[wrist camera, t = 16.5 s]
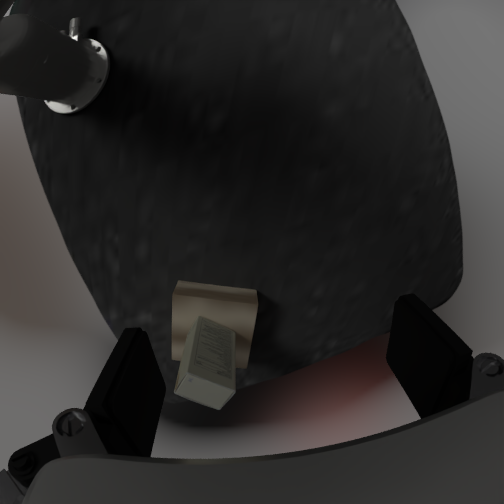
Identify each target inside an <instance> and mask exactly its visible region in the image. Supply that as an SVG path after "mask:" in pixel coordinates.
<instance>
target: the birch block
mask: <svg viewBox="0 0 504 504" xmlns="http://www.w3.org/2000/svg"><path fill="white" fill-rule="evenodd" d="M257 309H258V298H257V291H256V290H252V289H243V288H234V287H226V286H218V285H209V284H202V283H194V282H186V281H178V283H177V285H176V288H175V290H174V292H173V301H172V360H178V361H181V359H182V355H183V351H184V346H185V342H186V338H187V334H188V332H189V331H190V329H191V327H192V325H193V324H194V322H195V320H196V319H197V317H198V316H201V317H203V318H206V319H208V320H210V321H212V322H215V323H217V324H219V325H221V326H223V327H226V328H228V329H230V330H232V331H234V332H235V333H236V341H235V342H236V346H235V367H237V368H247V364H248V358H249V353H250V348H251V342H252V337H253V331H254V326H255V320H256V315H257Z"/></svg>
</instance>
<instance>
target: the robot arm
mask: <svg viewBox="0 0 504 504" xmlns="http://www.w3.org/2000/svg"><path fill="white" fill-rule="evenodd" d="M14 1H15V0H0V93H1V94H8V95H15V96H22V97H28V98H34V99H40V100H44V101H45V103H46V105H47V106H48V107H49V108H50V109H51V110H53V111H54V112H57V113H61V114H72V113H75V112H78V111H80V110H82V109H84V108H85V107H87V106H88V105H89V104H91V103H92V102H93V101H94V100H95V99H96V98H97V96H98V95H99V94H100V92H101V91H102V89H103V87H104V86H105V84H106V81H107V79H108V75H109V71H110V57H109V54H108V51H107V50H106V48H105V47H104V46H103V45H102V44H101V43H99V42H98V41H96V40H93V39H85V38H84V39H82V34H81V33H80V29H81V18H74V19H72V20H71V21H70V27H69V31H70V34H69V36H68V35H66V31H65V30H63V31H59V30H57V29H56V28H54V27H52V26H50V25H48V24H46V23H45V22H43V21H41V20H39V19H38V18H36V17H33V16H31V15H27V14H14V15H10V16H6V17H3V16H4V15H5V14H6V12H7V11H8V9H9V8H10V7H11V5H12V4H13V3H14ZM100 82H101V83H100ZM472 352H473V351H472V350H471V349H470V348H469V347H468V346H467V345H466V344H465V343H464V341H463V340H462V339H461V338H460V337H458V335H457V334H456V333H455V332H454V331H453V330H452V329H451V328H450V327H449V326H447V324H446V323H444V322H443V321H442V320H441V319H440V318H439V317H438V316H437V315H436V314H435V313H434V312H433V311H432V310H431V309H430V308H429V307H428V306H427V305H426V304H425V303H424V302H423V301H421V300H420V299H419V298H418V297H417V296H416V295H415V294H408V295H403V296H400V297H399V299H398V300H397V301H396V302H395V305H394V312H393V319H392V326H391V332H390V338H389V344H388V349H387V354H386V359H387V363H388V365H389V366H390V368H391V370H392V371H393V373H394V374H395V376H396V378H397V379H398V381H399V382H400V384H401V386H402V387H403V389H404V391H405V392H406V394H407V395H408V397H409V399H410V400H411V402H412V404H413V406H414V407H415V409H416V411H417V412H418V414H419V416H420V418H421V419H420V420H417V421H414V422H412V423H409V424H406V425H403V426H400V427H397V428H394V429H391V430H388V431H384V432H381V433H378V434H374V435H371V436H367V437H363V438H359V439H355V440H351V441H347V442H343V443H339V444H334V445H329V446H324V447H319V448H314V449H308V450H303V451H296V452H289V453H282V454H273V455H265V456H254V457H242V458H223V459H174V458H152V457H151V452H152V447H153V443H154V439H155V434H156V430H157V425H158V421H159V417H160V413H161V409H162V405H163V401H164V397H165V392H166V386H165V382H164V379H163V377H162V374H161V372H160V369H159V366H158V363H157V361H156V358H155V355H154V352H153V349H152V346H151V343H150V341H149V338H148V335H147V332H146V331H142V329H141V328H140V327H139V328H125V330H124V331H123V333H122V335H121V337H120V338H119V340H118V342H117V344H116V346H115V347H114V349H113V351H112V353H111V355H110V357H109V359H108V360H107V362H106V364H105V366H104V368H103V370H102V372H101V374H100V376H99V378H98V380H97V382H96V384H95V386H94V388H93V389H92V391H91V393H90V396H89V398H88V400H87V402H86V405H85V407H84V409H83V410H82V409H79V408H71V409H67V410H65V411H63V412H61V413H60V414H59V415H58V416H57V417H56V418H55V419H54V421H53V424H52V430H53V434H51V435H49V436H47V437H45V438H43V439H40V440H38V441H36V442H34V443H32V444H30V445H28V446H26V447H24V448H21V449H19V450H17V451H16V452H14V453H13V454H12V456H11V457H10V459H9V463H8V469H9V470H8V471H6V470H5V469H3V470H2V471H1V472H0V504H504V360H503V359H502V358H501V357H500V356H498V355H496V354H492V353H481V354H479V355H477V356H476V357H475V358H473V357H472V356H471V355H472Z"/></svg>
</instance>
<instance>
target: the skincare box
mask: <svg viewBox="0 0 504 504" xmlns="http://www.w3.org/2000/svg"><path fill="white" fill-rule="evenodd" d="M235 341H236V333H235V332H234V331H232V330H230V329H228V328H226V327H223V326H221V325H219V324H217V323H215V322H212V321H210V320H208V319H206V318H203V317H201V316H198V317H197V319H196V320H195V322H194V324H193V325H192V327H191V329H190V331H189V332H188V334H187V338H186V342H185V346H184V351H183V355H182V359H181V363H180V368H179V372H178V376H177V381H176V386H175V391H174V393H175V394H178V395H180V396H182V397H185V398H187V399H189V400H192V401H195V402H197V403H200V404H203V405H206V406H209V407H212V408H215V409H218V410H220V409H221V408H222V407H223V406H224V404H226V402H227V401H228V400H229V399H230V398H231V397H232V396H233V395H234V393H235V346H236V342H235Z"/></svg>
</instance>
